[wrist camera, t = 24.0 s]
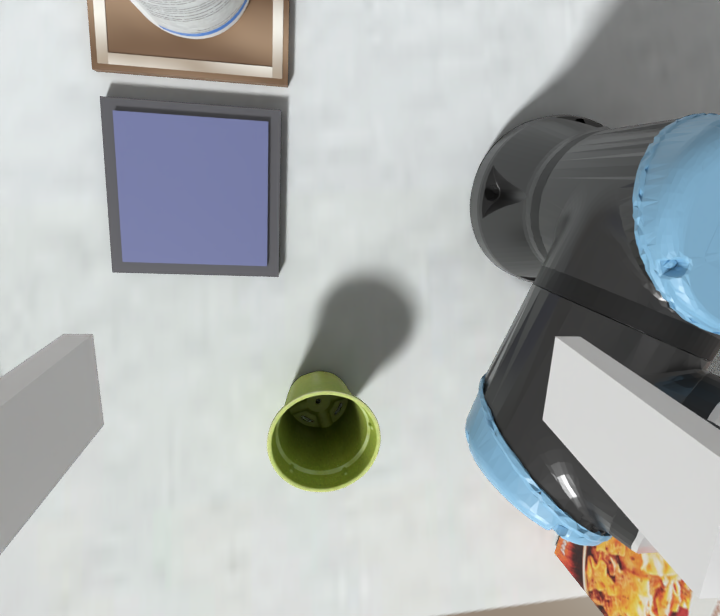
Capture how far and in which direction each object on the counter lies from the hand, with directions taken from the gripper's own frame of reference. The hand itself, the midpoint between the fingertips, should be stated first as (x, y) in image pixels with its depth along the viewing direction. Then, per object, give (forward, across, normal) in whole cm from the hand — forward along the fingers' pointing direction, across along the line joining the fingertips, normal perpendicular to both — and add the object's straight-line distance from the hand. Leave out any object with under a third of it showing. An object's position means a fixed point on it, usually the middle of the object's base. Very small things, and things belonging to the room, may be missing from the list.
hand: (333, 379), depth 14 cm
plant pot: (+32, 0, -17) cm, 36 cm away
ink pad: (+32, -11, +3) cm, 34 cm away
